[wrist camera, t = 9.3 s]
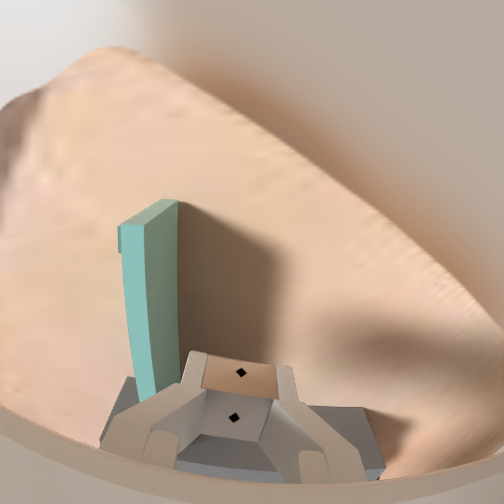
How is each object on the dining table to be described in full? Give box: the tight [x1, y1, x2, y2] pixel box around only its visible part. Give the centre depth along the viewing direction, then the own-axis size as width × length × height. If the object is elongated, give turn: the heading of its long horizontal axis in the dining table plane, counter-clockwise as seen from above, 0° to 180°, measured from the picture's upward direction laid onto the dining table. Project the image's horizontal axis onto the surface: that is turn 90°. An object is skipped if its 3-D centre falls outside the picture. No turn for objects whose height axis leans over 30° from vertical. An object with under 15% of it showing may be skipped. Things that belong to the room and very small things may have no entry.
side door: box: [118, 199, 181, 402], centre depth 17 cm, size 14×2×7 cm, turn 175°
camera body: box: [99, 377, 386, 483], centre depth 21 cm, size 22×12×8 cm, turn 79°
